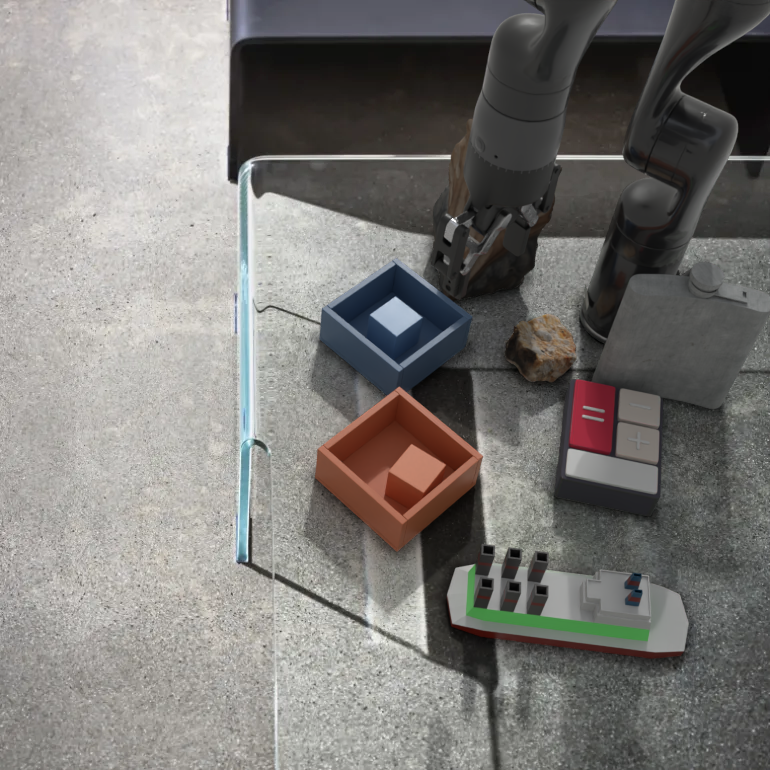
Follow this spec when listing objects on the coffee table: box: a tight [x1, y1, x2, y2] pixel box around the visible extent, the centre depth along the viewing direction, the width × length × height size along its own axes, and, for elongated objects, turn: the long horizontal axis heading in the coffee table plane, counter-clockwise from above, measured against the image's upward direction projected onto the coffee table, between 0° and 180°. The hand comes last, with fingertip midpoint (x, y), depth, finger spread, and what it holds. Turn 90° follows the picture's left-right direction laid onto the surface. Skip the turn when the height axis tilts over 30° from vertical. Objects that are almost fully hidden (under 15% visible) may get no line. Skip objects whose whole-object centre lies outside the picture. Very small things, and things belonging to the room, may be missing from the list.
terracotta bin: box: [314, 387, 484, 553], centre depth 125 cm, size 13×13×6 cm
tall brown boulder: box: [432, 118, 563, 303], centre depth 141 cm, size 13×13×20 cm
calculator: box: [553, 378, 664, 517], centre depth 131 cm, size 11×4×15 cm
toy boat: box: [445, 543, 690, 660], centre depth 116 cm, size 8×25×8 cm, turn 85°
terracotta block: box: [385, 444, 446, 509], centre depth 124 cm, size 4×4×4 cm
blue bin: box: [318, 257, 474, 396], centre depth 137 cm, size 13×13×6 cm
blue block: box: [367, 297, 423, 360], centre depth 137 cm, size 4×4×4 cm
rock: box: [503, 313, 578, 383], centre depth 139 cm, size 9×6×10 cm
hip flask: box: [591, 260, 770, 410], centre depth 131 cm, size 16×4×20 cm, turn 84°
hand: (483, 271), depth 109 cm, fingers open, 8 cm apart
